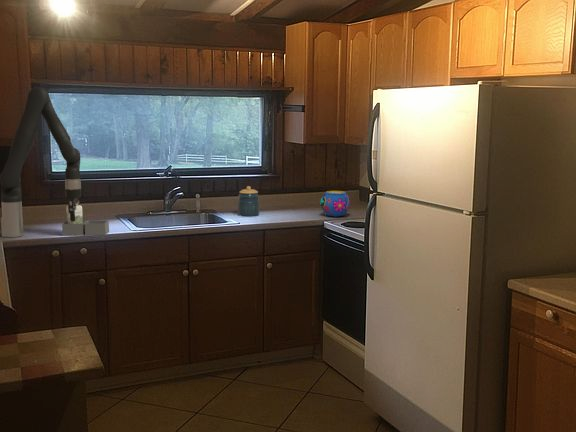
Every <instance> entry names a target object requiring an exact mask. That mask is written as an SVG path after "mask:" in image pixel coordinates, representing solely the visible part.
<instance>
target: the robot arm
mask: <svg viewBox="0 0 576 432" xmlns="http://www.w3.org/2000/svg"><path fill="white" fill-rule="evenodd" d="M23 110H24V111H23V113H22V116H21V118H20V120H19V121H18V122H19V123H18V125H17V128H16V130H15V132H14V136H13V139H12V142H11V146H10V150H9V153H8V154H9V155H8V158H7V160H6V163H5V165H4V167H3V169H2V171H1V173H0V202H1V204H0V205H1V216H2V217H0V224H1V226H0V227H1V237H4V238H18V237H22V236H24V222H23V221H24V220H23V219H24V218H23V205H22V204H23V203H22V179H21V175H22V172H23V166H24V164H25V161H26V160H27V158H28V156H29V154H30V152H31V150H32V147H33V145H34V143H35V139H36V136H37V132H38V126H39V119H40V115H41V116H42V117H43V119H44V120H45V122H46V126H47V127H48V129H49V132H50V135H51V136H52V137H53V139H54V141H55V143H56V144H57V147H58V149H59V151H60V154H61V156H62V158H63V159H64V161H65V162H66V167H65V171H64V173H65V183H64V187H65V188H64V189H65V198H67V199H69V201H67V206H68V211H69V212H68V213H70V221H75V210H76V208H77V205H80V202H81V201H80V198H81V197H82V181H81V171H80V167H81V152H80V150H79V149H77V148H76V147H74V145H73V144H72V139H71V137H70V134H69V133H68V131H67V130H66V128H65V126H64V124H63V122H62V121H61V119H60V118H59V116H58V114H57V112H56V110H55V108H54V106H53V103H52V99H51V97H50V94H49V92H48V91H47V90H46V89H44V88H41V87H38V86H37V87H36V86H35V87H33V88H31V89H30V90H29V91H28V93H27V98H26V103H25V107H24V109H23ZM80 206H81V205H80ZM72 209H73V211H71V210H72Z"/></svg>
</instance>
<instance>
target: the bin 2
mask: <svg viewBox="0 0 576 432" xmlns="http://www.w3.org/2000/svg"><path fill="white" fill-rule="evenodd" d="M109 232H110V221H109V220H108V219H107V220H87V222H86V223H85V234H84V236H86V237H88V236H93V237H94V236H98V237H99V236H107V235H108V234H109Z"/></svg>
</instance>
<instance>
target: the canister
mask: <svg viewBox="0 0 576 432" xmlns="http://www.w3.org/2000/svg"><path fill="white" fill-rule="evenodd" d="M251 188H252V187H251V186H250V185H247V186H246V188H245V189H244V188H243V189H241V190H240V191H239V194H238V196H237V197H238V201H237V203H238V204H237V205H238V206H237V208H238V209H237V210H238V211H237V214H238V216H240V217H257V216H259V214H260V200H259V197H260V194H258V193H259V191H258V190H256V189H251Z"/></svg>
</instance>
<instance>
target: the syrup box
mask: <svg viewBox="0 0 576 432" xmlns="http://www.w3.org/2000/svg"><path fill="white" fill-rule="evenodd" d="M65 208H66V209H65V210H66V211H65V212H66V213H65V214H66V216H65V217H66V221H67V224H82V223H83V221H84V219H83V206H82V205H77V208H76V210H75V221H70V213H68V212H69V211H68V205H66V206H65ZM71 211H73V209H72V210H71Z"/></svg>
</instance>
